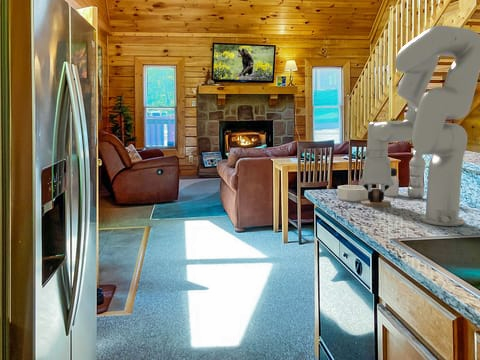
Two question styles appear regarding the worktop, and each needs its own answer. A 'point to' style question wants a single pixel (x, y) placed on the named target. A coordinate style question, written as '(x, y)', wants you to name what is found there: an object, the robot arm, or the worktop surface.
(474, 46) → the robot arm
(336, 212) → the worktop surface
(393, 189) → the medicine bottle
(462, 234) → the worktop surface
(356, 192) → the bowl
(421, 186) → the plastic bottle
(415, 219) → the worktop surface
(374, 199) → the lid
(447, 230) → the worktop surface
